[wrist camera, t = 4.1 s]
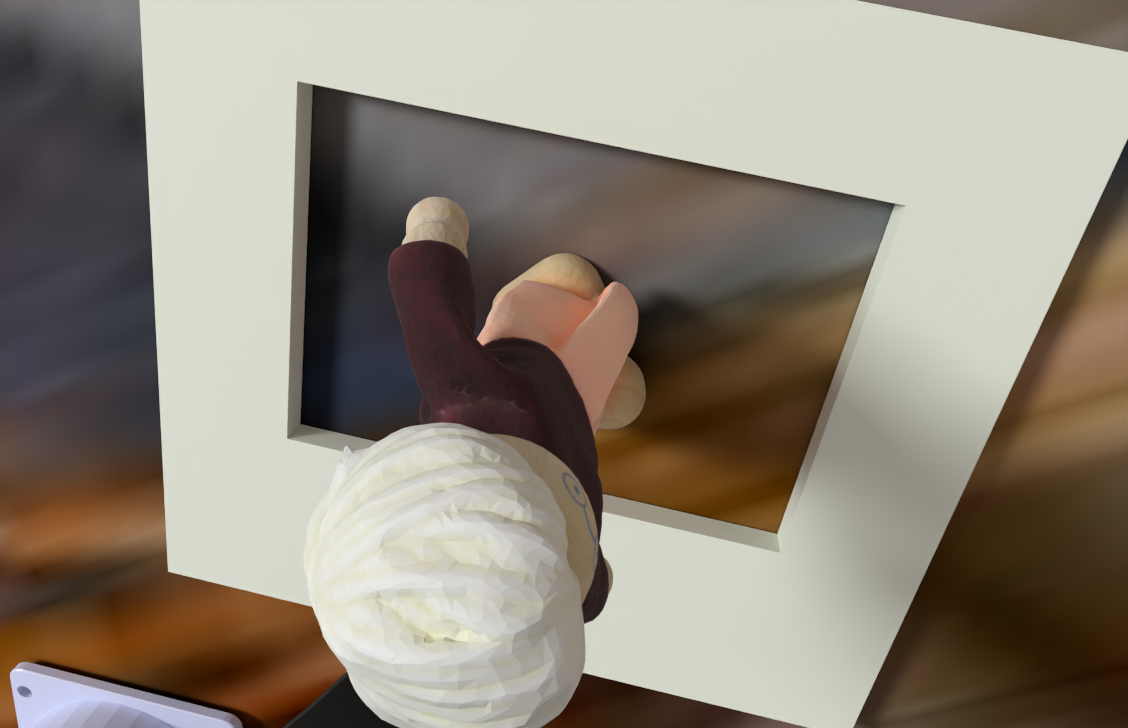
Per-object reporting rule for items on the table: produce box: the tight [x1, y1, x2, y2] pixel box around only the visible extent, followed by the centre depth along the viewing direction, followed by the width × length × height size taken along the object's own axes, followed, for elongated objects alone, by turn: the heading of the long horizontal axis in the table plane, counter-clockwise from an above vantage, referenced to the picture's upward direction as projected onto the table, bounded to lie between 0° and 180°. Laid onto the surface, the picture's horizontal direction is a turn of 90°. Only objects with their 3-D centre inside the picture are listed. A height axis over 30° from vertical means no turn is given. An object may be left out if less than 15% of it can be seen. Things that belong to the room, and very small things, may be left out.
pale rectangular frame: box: [140, 0, 1128, 728], centre depth 20 cm, size 18×20×1 cm
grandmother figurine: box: [303, 197, 646, 728], centre depth 13 cm, size 8×4×13 cm, turn 34°
